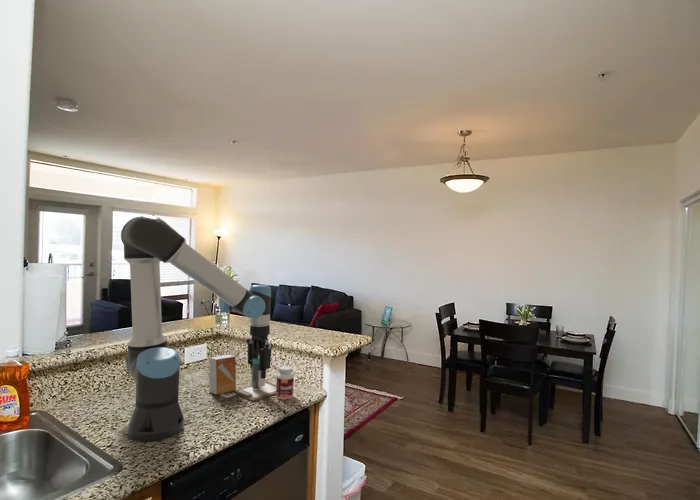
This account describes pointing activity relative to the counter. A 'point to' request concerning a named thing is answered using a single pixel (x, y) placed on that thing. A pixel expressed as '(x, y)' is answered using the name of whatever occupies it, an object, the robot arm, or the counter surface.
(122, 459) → the counter surface
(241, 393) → the clipboard
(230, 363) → the small box
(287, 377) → the pill bottle
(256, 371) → the marker
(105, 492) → the counter surface
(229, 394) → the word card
